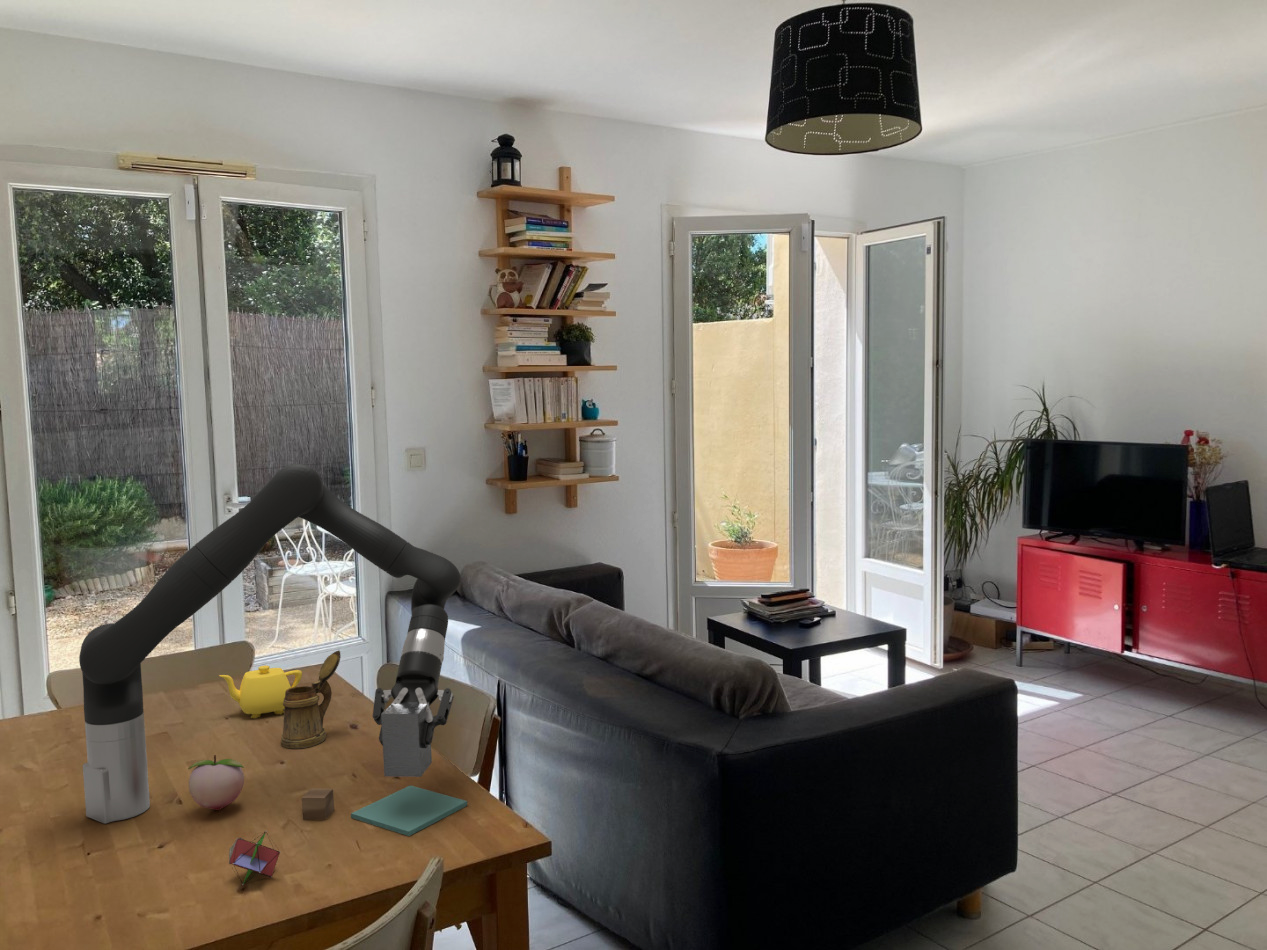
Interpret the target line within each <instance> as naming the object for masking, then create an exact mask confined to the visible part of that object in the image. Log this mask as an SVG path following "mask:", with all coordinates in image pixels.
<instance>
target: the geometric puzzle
mask: <svg viewBox="0 0 1267 950" xmlns="http://www.w3.org/2000/svg"><path fill="white" fill-rule="evenodd" d="M258 834H259V832H257V833H256V835H258ZM265 835H266V836H268V840H269V842H270V843H272V842H273V839H271V836H270V835H269V833H268V832H267V830H265V831H263V832H260V835H259V836H257V837H256V838H254V840H252V841H250V840H245V839H244V838H243V837H242V836H240V837H237V838H236V840H235V841H234V842H233V844H232V845H231V847H230V848H229V852H228V853H229V854H228V864H229V865H230V867H231V869H232V870H233V872H234V873H235V875H236V876H237V877H238V879H239V881H240V883H241V884H242V886H244V885H245V884H248V882H249V881H251V880H252V879H254V877H256V876H258V875H259V874H260V875H262V876H266V877H268V878H273V874H274V871H275V868H276V865H277V863H278V860H279V856H280V853H281V851H280V850H277V849H275V848H274V846H273V845H271V846H272V848H271V847H268V846H264V844H263V841H264V838H265ZM260 836H261V837H260ZM258 838H260V839H259V840H258V841H257V842H254V841H256V839H258ZM270 839H271V840H270ZM271 841H272V842H271ZM262 844H263V845H262ZM273 844H274V845H275V847H277V845H276V844H275V842H273ZM232 866H234V868H235V870H234V869H233V867H232ZM236 867H238V868H241V869H244V870H246V874H245V877H244V880H243V881H242V880H241V877H240V875H239V872H238V871H237V869H236ZM235 871H236V872H235ZM252 873H255V875H254V876H252V877H250V876H251V874H252ZM249 877H250V878H249ZM264 879H265V880H267V878H264ZM261 880H263V879H262V878H261V879H260V881H261ZM256 881H259V879H257V880H256ZM253 882H254V881H252V883H253Z"/></svg>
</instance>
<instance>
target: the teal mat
mask: <svg viewBox="0 0 1267 950" xmlns="http://www.w3.org/2000/svg"><path fill="white" fill-rule="evenodd" d="M467 806H468V801H467V800H465V799H462V798H457V797H454V796H450V795H447V794H443V793H439V792H436V791H433V790H429V789H424V788H422V787H418V786H415V785H408V786H406V787H403V788H402V789H399V790H398V791H395V792H393V793H392V794H389V795H387V796H385V797H383V798H381V799H379V800H376V801H374V802H372V803H370V804H368V805H365V806H363V807H361V808H359V809H357V810H355V811H352V812H351V813H350V817H351V818H350V819H354V820H357V821H361V822H363V823H366V824H369V825H372V826H376V827H379V828H382V829H385V830H388V831H391V832H395V833H398V834H401V835H404V836H407V837H411V836H413V835H414V834H416V833H418V832H420V831H422V830H424V829H425V828H428V827H429V826H431V825H433V824H435V823H437V822H438V821H440V820H442V819H444V818H446V817H448V816H450V815H452V814H454V813H456V812H459V810H462V809H464V808H465V807H467Z"/></svg>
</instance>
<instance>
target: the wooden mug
mask: <svg viewBox="0 0 1267 950" xmlns="http://www.w3.org/2000/svg"><path fill="white" fill-rule="evenodd" d="M341 658H342V657H341V651H340V650H336V651H335V652H332V653H331V654H330V655H328V656H327V657H326V658H325V660H324V661H323V663H322V666H321V667H320V670H319V672H318V673H319V674H318V680H317V681H314V682H313V683H311V686H307V685H299V686H298V685H297V686H296V687H293V688H289V689H287V690H286V692H285V698H284V701H283V706H284V707H285V709H283V711H284V714H283V725H282V726H283V727H282V734H281V737H280V746H281V747H282V748H286V749H292V750H293V749H297V750H298V749H305V748H310V747H314V746H317V745H319V744H321V743H323V742H324V741H325V740H326V737H327V736H326V735H327V734H326V730H325V728H324V727H323V725H324V718H325V715H326V712H327V710H328V708H329V705H330V702H331V701H332V687H331V685H330V683H329V682H328V680H329V679H331V678H332V676H333V675H334V674H335V673H336V671H337V670H338V667H339V664H340V661H341ZM317 694H321V695H322V696H323V700H322V702H321V703H320V704H319V701H320V696H319V695H317Z"/></svg>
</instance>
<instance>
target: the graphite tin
mask: <svg viewBox="0 0 1267 950" xmlns="http://www.w3.org/2000/svg"><path fill="white" fill-rule="evenodd" d="M427 704H428V706H429V702H427ZM427 704H420V703H419V702H402V703H400V704H396V703H395V704H392V703H391V704H390V705H389V706H387V708H386V709H384V712H383V713H381V721H382V740H383V746H382V755H383V774H384V777H398V778H400V777H406V778H408V777H411V778H414V777H421V778H422V776H423V774H424V773H425V772H426V770H428V768H429V767H430V766H431V764H432V762H433V760H432V759H433V758H432V743H431V744H430V745H428V747H427V748H423V747H422V745H421V739H422V734H423V728H424V723H426V719H425V717H426V707H427Z"/></svg>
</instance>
